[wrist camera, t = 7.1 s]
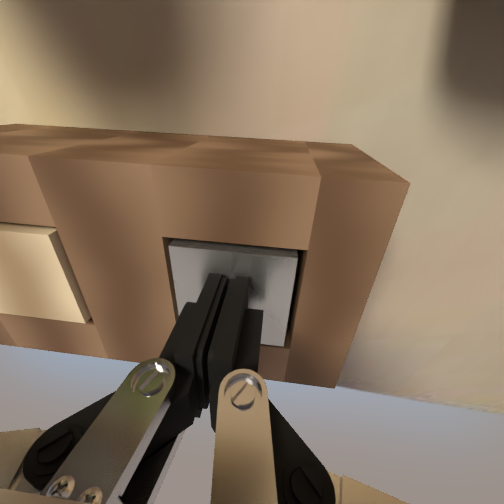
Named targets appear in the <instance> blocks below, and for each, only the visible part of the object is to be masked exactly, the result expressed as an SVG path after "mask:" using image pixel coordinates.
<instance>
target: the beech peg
mask: <svg viewBox="0 0 504 504" xmlns="http://www.w3.org/2000/svg"><path fill="white" fill-rule="evenodd" d="M0 313H3V314H11V315H19V316H28V317H36V318H44V319H52V320H60V321H69V322H77V323H85V324H86V322H87V321H88V320H89V319H90V318H91V314H90V312H89V309H88V307H87V304H86V302H85V299H84V297H83V294H82V292H81V289H80V286H79V284H78V281H77V279H76V276H75V274H74V271H73V269H72V266H71V264H70V261H69V259H68V256H67V254H66V251H65V249H64V246H63V244H62V241H61V239H60V236H59V234H58V231H57V229H56V227H51V226H41V225H30V224H19V223H8V222H0Z"/></svg>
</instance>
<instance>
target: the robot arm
mask: <svg viewBox="0 0 504 504" xmlns="http://www.w3.org/2000/svg"><path fill="white" fill-rule="evenodd" d="M248 294H249V277H248V276H238V275H236V277H235V279H234V278H231V279H230V282H229V285H228V279H227V278H224V277H223V274H219V273H209V274H208V277H207V279H206V281H205V284H204V286H203V288H202V290H201V293H200V295H199V297H198V300H197V302H196V303H195V302H186V304H185V305H184V307H183V309H182V311H181V313H180V315H179V317H178V319H177V321H176V324H175V326H174V328H173V330H172V332H171V334H170V336H169V338H168V340H167V342H166V344H165V346H164V348H163V350H162V352H161V354H160V356H159V358H152V359H148V360H146V361H143V362H141V363H140V364H138V365H137V366H136V367H135V368H134V369H133V370H132V371H131V372H130V373H129V375H128V376H127V377H126V379H125V380H124V381H123V383H122V384H121V385H120V387H119V388H118V389H117V391H115V392H113V393H111V394H109V395H108V396H106V397H104V398H102V399H100V400H99V401H97V402H95V403H93V404H92V405H90V406H88V407H86V408H84V409H83V410H81V411H79V412H77V413H75V414H73V415H72V416H70V417H68V418H66V419H65V420H63V421H61V422H59V423H57V424H56V425H54V426H52V427H51V428H50V429H48V430H43V431H42V430H41V429H40V428H34V429H24V430H16V431H7V432H0V504H153V503H154V501H155V499H156V497H157V494H158V492H159V490H160V488H161V485H162V483H163V480H164V478H165V476H166V474H167V472H168V469H169V467H170V465H171V463H172V460H173V458H174V456H175V453H176V451H177V449H178V447H179V444H180V442H181V440H182V438H183V434H184V431H185V429H186V428H188V427H189V426H191V425H192V424H193V421H194V418H195V417H198V418H200V415H201V411H202V408H204V409H207V408H208V405H209V403H210V414H211V427H212V428H213V430H214V432H215V433H216V434H215V448H214V461H213V474H212V488H211V503H210V504H409V503H406V502H404V501H402V500H399V499H397V498H395V497H393V496H390V495H388V494H386V493H384V492H381V491H379V490H377V489H374V488H372V487H370V486H367V485H365V484H363V483H361V482H359V481H356V480H354V479H352V478H349V477H347V476H345V475H342V477H340V476H338V475H336V474H333V473H331V472H329V471H327V470H326V469H325V467H324V466H323V465H322V463H321V462H320V461H319V460H318V458H317V457H316V456H315V455H314V454H313V452H312V451H311V450H310V449H309V448H308V446H307V445H306V444H305V443H304V441H303V440H302V439H301V438H300V437H299V435H298V434H297V433H296V432H295V431H294V429H293V428H292V427H291V426H290V425H289V423H288V422H287V421H286V420H285V418H284V417H283V416H282V415H281V414H280V412H279V411H278V410H277V409H276V408H275V406H274V405H273V404H272V403H271V402H270V400H269V399H268V392H267V387H266V383H265V382H264V380H263V378H262V377H261V376H260V375H259V374H258V365H259V355H260V345H261V334H262V324H263V312H264V310H259V309H250V308H248Z"/></svg>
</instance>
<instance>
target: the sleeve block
mask: <svg viewBox="0 0 504 504" xmlns="http://www.w3.org/2000/svg"><path fill="white" fill-rule="evenodd" d="M409 186H410V183H409V182H408V181H406V180H405V179H403V178H402V177H400V176H399V175H397V174H396V173H394V172H393V171H391V170H390V169H388V168H387V167H385V166H384V165H382V164H381V163H379V162H378V161H376V160H375V159H373V158H372V157H370V156H368V155H367V154H365V153H364V152H362V151H361V150H359V149H358V148H356V147H355V146H353V145H352V144H335V143H319V142H303V141H286V140H270V139H254V138H237V137H221V136H205V135H188V134H172V133H156V132H139V131H123V130H107V129H90V128H74V127H58V126H41V125H25V124H10V125H0V222H8V223H19V224H30V225H41V226H51V227H56V229H57V231H58V234H59V236H60V239H61V241H62V244H63V246H64V249H65V251H66V254H67V256H68V259H69V261H70V264H71V266H72V269H73V271H74V274H75V276H76V279H77V281H78V284H79V286H80V289H81V292H82V294H83V297H84V299H85V302H86V304H87V307H88V309H89V312H90V314H91V318H90V319H89V320H88V321H87V322H86V324H85V323H77V322H69V321H60V320H52V319H44V318H36V317H28V316H19V315H11V314H3V313H0V344H2V345H9V346H17V347H25V348H33V349H40V350H48V351H55V352H62V353H70V354H78V355H85V356H93V357H100V358H108V359H116V360H123V361H131V362H138V363H141V362H143V361H146V360H148V359H152V358H159V356H160V354H161V352H162V350H163V348H164V346H165V344H166V342H167V340H168V338H169V336H170V334H171V332H172V330H173V328H174V326H175V324H176V321H177V319H178V317H179V314H178V307H177V300H176V294H175V287H174V280H173V274H172V267H171V260H170V254H169V247H168V246H169V245H170V243H171V242H172V241H173V240H174V238H181V239H191V240H202V241H213V242H224V243H234V244H245V245H256V246H267V247H278V248H288V249H297V253H298V261H297V267H296V273H295V279H294V285H293V292H292V298H291V304H290V310H289V316H288V322H287V328H286V335H285V341H284V347H283V346H275V345H267V344H261V345H260V355H259V365H258V374H259V375H260V376H261V377H262V378H263V379H267V380H274V381H282V382H289V383H297V384H305V385H312V386H320V387H327V388H335V386H336V383H337V380H338V378H339V375H340V372H341V370H342V367H343V364H344V361H345V359H346V356H347V353H348V351H349V348H350V345H351V343H352V340H353V337H354V334H355V332H356V329H357V326H358V324H359V321H360V318H361V315H362V313H363V310H364V307H365V305H366V302H367V299H368V297H369V294H370V291H371V288H372V286H373V283H374V280H375V278H376V275H377V272H378V269H379V267H380V264H381V261H382V259H383V256H384V253H385V251H386V248H387V245H388V242H389V240H390V237H391V234H392V232H393V229H394V226H395V223H396V221H397V218H398V215H399V213H400V210H401V207H402V205H403V202H404V199H405V196H406V194H407V191H408V188H409Z"/></svg>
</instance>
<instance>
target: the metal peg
mask: <svg viewBox="0 0 504 504" xmlns="http://www.w3.org/2000/svg"><path fill="white" fill-rule="evenodd" d="M168 247H169V254H170V260H171V267H172V274H173V280H174V287H175V294H176V300H177V307H178V314H179V315H180V313H181V311H182V309H183V307H184V305H185V304H186V302H195V303H196V302H197V300H198V297H199V295H200V293H201V290H202V288H203V286H204V284H205V281H206V279H207V277H208V274H209V273H219V274H223V277H224V278H227V279H228V285H229V282H230V279H231V278H234V279H235V277H236V275H238V276H248V277H249V294H248V308H250V309H259V310H264V312H263V324H262V334H261V344H267V345H275V346H283V347H284V341H285V335H286V328H287V322H288V316H289V310H290V304H291V298H292V292H293V285H294V279H295V273H296V267H297V261H298V253H297V249H288V248H278V247H267V246H256V245H245V244H234V243H224V242H213V241H202V240H191V239H181V238H174V240H173V241H172V242H171V243H170V245H169V246H168Z"/></svg>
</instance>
